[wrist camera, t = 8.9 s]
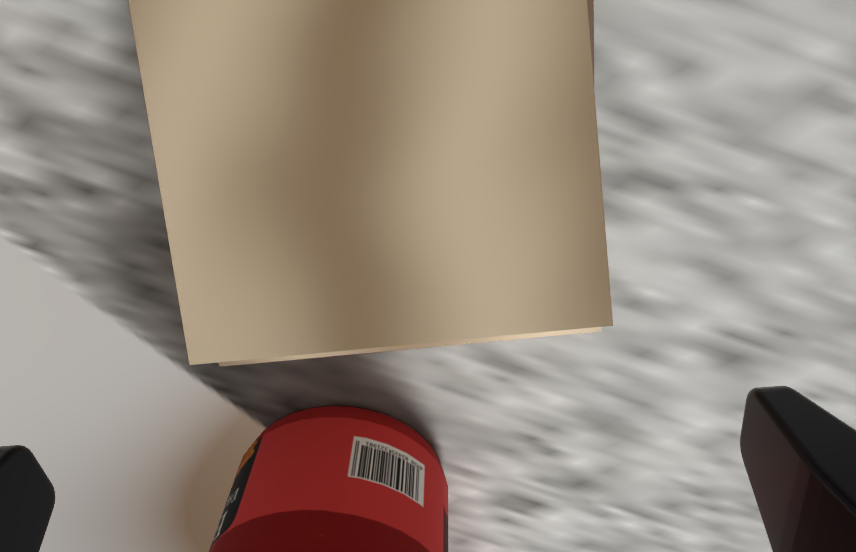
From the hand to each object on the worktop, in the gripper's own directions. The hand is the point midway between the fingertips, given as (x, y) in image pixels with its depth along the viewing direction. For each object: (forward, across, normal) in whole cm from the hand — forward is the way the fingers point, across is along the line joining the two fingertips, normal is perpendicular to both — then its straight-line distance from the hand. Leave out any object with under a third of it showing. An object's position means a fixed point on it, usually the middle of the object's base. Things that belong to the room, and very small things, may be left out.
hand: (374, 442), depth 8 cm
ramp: (+12, +1, -2) cm, 12 cm away
